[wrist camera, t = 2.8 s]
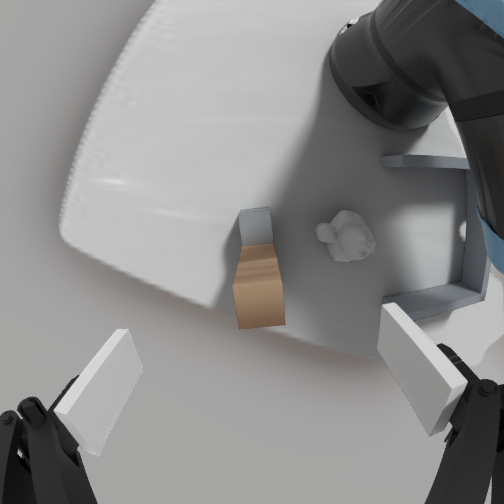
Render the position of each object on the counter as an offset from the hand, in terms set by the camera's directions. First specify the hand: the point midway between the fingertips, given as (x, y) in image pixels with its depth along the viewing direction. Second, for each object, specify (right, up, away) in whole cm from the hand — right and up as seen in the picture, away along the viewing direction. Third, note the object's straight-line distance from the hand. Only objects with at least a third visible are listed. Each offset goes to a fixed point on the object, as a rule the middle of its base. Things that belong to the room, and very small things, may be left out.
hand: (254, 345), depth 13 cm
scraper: (+1, +5, +17) cm, 18 cm away
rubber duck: (+9, +7, +17) cm, 21 cm away
